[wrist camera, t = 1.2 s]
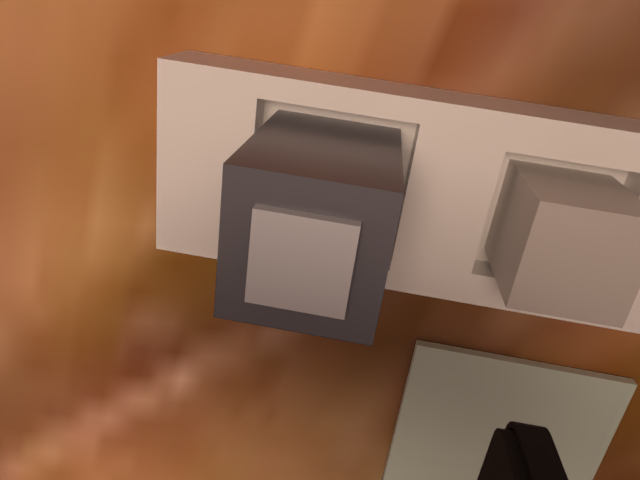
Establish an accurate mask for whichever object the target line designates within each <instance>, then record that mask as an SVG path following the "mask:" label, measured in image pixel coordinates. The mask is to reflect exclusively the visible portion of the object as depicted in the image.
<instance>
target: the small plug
mask: <svg viewBox="0 0 640 480" xmlns="http://www.w3.org/2000/svg"><path fill="white" fill-rule="evenodd" d="M484 249H485V252H486V255H487V257H488V260H489V263H490V266H491V268H492V271H493V274H494V277H495V279H496V282H497V285H498V288H499V290H500V293H501V296H502V299H503V301H504V304H505V307H506V308H510V309H516V310H521V311H527V312H533V313H538V314H544V315H550V316H555V317H561V318H567V319H572V320H578V321H584V322H589V323H595V324H601V325H606V326H612V327H618V328H623V326H624V324H625V321H626V319H627V317H628V314H629V312H630V310H631V308H632V305H633V303H634V301H635V298H636V296H637V294H638V291H639V289H640V198H638V197H637V196H636V195H635V194H633V193H632V192H631V191H630V190H629V189H627V188H626V187H625V186H624V185H622V184H621V183H620V182H619V181H618V180H616V179H615V178H614V177H613V176H611V175H607V174H601V173H595V172H588V171H582V170H576V169H570V168H564V167H557V166H551V165H545V164H539V163H532V162H526V161H520V160H514V159H509V163H508V166H507V170H506V173H505V177H504V180H503V184H502V187H501V191H500V194H499V198H498V201H497V205H496V208H495V212H494V215H493V219H492V222H491V226H490V229H489V233H488V236H487V240H486V243H485V246H484Z"/></svg>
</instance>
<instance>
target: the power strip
mask: <svg viewBox="0 0 640 480" xmlns="http://www.w3.org/2000/svg"><path fill="white" fill-rule="evenodd" d="M278 109H280V110H286V111H292V112H299V113H305V114H311V115H317V116H324V117H330V118H336V119H342V120H349V121H355V122H361V123H368V124H374V125H380V126H386V127H393V128H399V129H401V143H402V160H403V177H404V198H403V203H402V208H401V213H400V217H399V222H398V227H397V232H396V236H395V241H394V246H393V251H392V255H391V260H390V265H389V270H388V275H387V279H386V284H385V289H388V290H394V291H400V292H405V293H411V294H417V295H422V296H428V297H434V298H439V299H445V300H451V301H456V302H462V303H468V304H473V305H479V306H485V307H490V308H496V309H502V310H507V311H513V312H519V313H524V314H530V315H536V316H541V317H547V318H553V319H558V320H564V321H570V322H575V323H581V324H587V325H592V326H598V327H604V328H609V329H615V330H621V331H626V332H632V333H638V334H640V289H639V291H638V294H637V296H636V298H635V301H634V303H633V305H632V308H631V310H630V312H629V314H628V317H627V319H626V321H625V324H624V326H623V328H618V327H612V326H606V325H601V324H595V323H589V322H584V321H578V320H572V319H567V318H561V317H555V316H550V315H544V314H538V313H533V312H527V311H521V310H516V309H510V308H506V307H505V304H504V301H503V299H502V296H501V293H500V290H499V288H498V285H497V282H496V279H495V277H494V274H493V271H492V268H491V266H490V263H489V260H488V257H487V255H486V252H485V249H484V246H485V243H486V240H487V236H488V233H489V229H490V226H491V222H492V219H493V215H494V212H495V208H496V205H497V201H498V198H499V194H500V191H501V187H502V184H503V180H504V177H505V173H506V170H507V166H508V163H509V159H514V160H520V161H526V162H532V163H539V164H545V165H551V166H557V167H564V168H570V169H576V170H582V171H588V172H595V173H601V174H607V175H611V176H613V177H614V178H615V179H616V180H618V181H619V182H620V183H621V184H622V185H624V186H625V187H626V188H627V189H629V190H630V191H631V192H632V193H633V194H635V195H636V196H637V197H638V198H640V120H639V119H632V118H626V117H619V116H613V115H606V114H600V113H594V112H587V111H581V110H574V109H568V108H561V107H555V106H548V105H542V104H535V103H529V102H522V101H516V100H510V99H503V98H497V97H490V96H484V95H477V94H471V93H464V92H458V91H451V90H445V89H438V88H432V87H426V86H419V85H413V84H406V83H400V82H393V81H387V80H380V79H374V78H367V77H361V76H354V75H348V74H342V73H335V72H329V71H322V70H316V69H309V68H303V67H296V66H290V65H283V64H277V63H270V62H264V61H258V60H251V59H245V58H238V57H232V56H225V55H219V54H212V53H206V52H199V51H193V50H187V51H183V52H179V53H175V54H171V55H167V56H163V57H159V58H157V196H156V249H162V250H167V251H173V252H179V253H184V254H190V255H196V256H201V257H207V258H213V259H217V257H218V240H219V223H220V207H221V190H222V173H223V163H224V162H225V161H226V160H227V159H228V158H229V157H230V156H231V155H232V154H233V153H234V152H235V151H236V150H237V149H238V148H239V147H241V146H242V145H243V144H244V143H245V142H246V141H247V140H248V139H249V138H250V137H251V136H252V135H253V134H254V133H255V132H256V131H257V130H258V129H259V128H260V127H261V126H262V125H263V124H264V123H265V122H266V121H267V120H268V119H269V118H270V117H271V116H272V115H273V114H274V113H275V112H276V111H277V110H278Z"/></svg>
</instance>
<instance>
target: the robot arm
mask: <svg viewBox="0 0 640 480" xmlns="http://www.w3.org/2000/svg"><path fill="white" fill-rule="evenodd" d="M477 480H568V477H567V475H566V472H565V470H564V467H563V464H562V462H561V459H560V457H559V454H558V451H557V449H556V446H555V444H554V441H553V438H552V436H551V433H550V432H549V430H548V429H547V428H546V427H542V426H537V425H531V424H525V423H520V422H514V421H510V422H509V423H508V424H507V425H506V428H505V429H501V428H497V429H496V430H495V431H494V433H493V436H492V439H491V441H490V444H489V447H488V450H487V453H486V456H485V459H484V461H483V464H482V467H481V470H480V473H479V476H478V478H477Z"/></svg>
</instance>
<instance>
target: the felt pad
mask: <svg viewBox="0 0 640 480" xmlns="http://www.w3.org/2000/svg"><path fill="white" fill-rule="evenodd" d="M636 387H637V384H636V382H635V380H634V379H632V378H626V377H621V376H615V375H610V374H604V373H599V372H593V371H588V370H582V369H577V368H571V367H566V366H560V365H554V364H549V363H543V362H538V361H532V360H527V359H521V358H516V357H510V356H505V355H499V354H494V353H488V352H483V351H477V350H472V349H466V348H461V347H455V346H450V345H444V344H439V343H433V342H428V341H422V340H416V344H415V348H414V352H413V356H412V360H411V364H410V369H409V373H408V377H407V381H406V385H405V389H404V393H403V397H402V401H401V405H400V409H399V413H398V417H397V421H396V425H395V429H394V433H393V437H392V441H391V445H390V449H389V453H388V457H387V461H386V465H385V469H384V473H383V477H382V480H477V478H478V476H479V473H480V470H481V467H482V464H483V461H484V459H485V456H486V453H487V450H488V447H489V444H490V441H491V439H492V436H493V433H494V431H495V430H496V429H497V428H501V429H505V428H506V425H507V424H508V423H509V422H510V421H514V422H520V423H525V424H531V425H537V426H542V427H546V428H547V429H548V430H549V432H550V433H551V436H552V438H553V441H554V444H555V446H556V449H557V451H558V454H559V457H560V459H561V462H562V464H563V467H564V470H565V472H566V475H567V477H568V480H593V478H594V476H595V474H596V472H597V470H598V468H599V465H600V463H601V461H602V459H603V457H604V455H605V453H606V451H607V449H608V446H609V444H610V442H611V440H612V438H613V436H614V434H615V432H616V430H617V427H618V425H619V423H620V421H621V419H622V417H623V415H624V413H625V411H626V408H627V406H628V404H629V402H630V400H631V398H632V396H633V394H634V392H635V389H636Z"/></svg>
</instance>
